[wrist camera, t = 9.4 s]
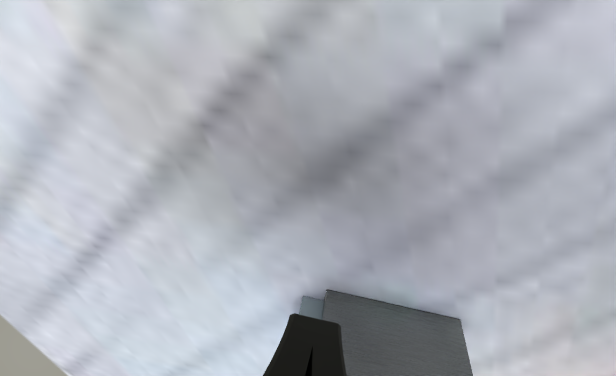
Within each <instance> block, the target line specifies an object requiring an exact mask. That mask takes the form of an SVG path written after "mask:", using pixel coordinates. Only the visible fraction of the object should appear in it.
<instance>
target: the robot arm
mask: <svg viewBox="0 0 616 376" xmlns="http://www.w3.org/2000/svg"><path fill="white" fill-rule="evenodd" d="M263 376H347V374H346V368H345V362H344V355H343V347H342V336H341V326H340V325H339V324H338V323H334V322H330V321H326V320H321V319H317V318H312V317H308V316H304V315H299V314H295V313H294V314H292V315H290V317H289V320H288V324H287V327H286V329H285V332H284V334H283V337H282V339H281V341H280V344H279V346H278V348H277V350H276V352H275V354H274V356H273V358H272V360H271V362H270V364H269V366H268V367H267V369H266V371H265V373H264V375H263Z"/></svg>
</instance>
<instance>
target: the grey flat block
mask: <svg viewBox="0 0 616 376" xmlns="http://www.w3.org/2000/svg"><path fill="white" fill-rule="evenodd" d="M321 320H326V321H330V322H334V323H338V324H339V325H340V326H341V336H342V347H343V355H344V362H345V368H346V374H347V376H473V374H472V369H471V365H470V361H469V356H468V352H467V347H466V343H465V338H464V334H463V329H462V325H461V321H460V320H459V319H455V318H450V317H446V316H441V315H437V314H433V313H428V312H424V311H419V310H415V309H410V308H406V307H401V306H397V305H392V304H388V303H384V302H379V301H375V300H370V299H366V298H361V297H357V296H352V295H348V294H344V293H339V292H335V291H330V290H327V292H326V295H325V299H324V304H323V311H322V318H321Z"/></svg>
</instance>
